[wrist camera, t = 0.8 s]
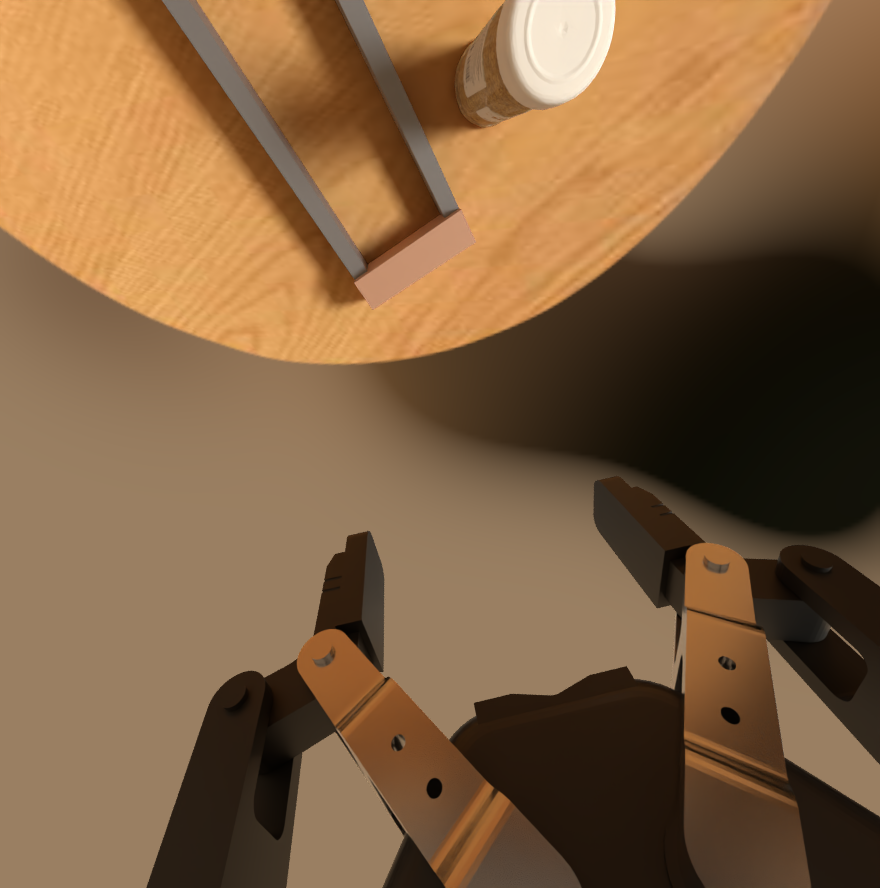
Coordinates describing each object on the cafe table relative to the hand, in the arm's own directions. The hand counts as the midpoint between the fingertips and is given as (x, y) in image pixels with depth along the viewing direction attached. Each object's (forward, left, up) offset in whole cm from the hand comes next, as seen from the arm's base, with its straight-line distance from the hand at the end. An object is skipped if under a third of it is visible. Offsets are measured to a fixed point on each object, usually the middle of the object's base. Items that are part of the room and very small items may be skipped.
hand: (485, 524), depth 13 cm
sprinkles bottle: (-10, +12, -26) cm, 30 cm away
